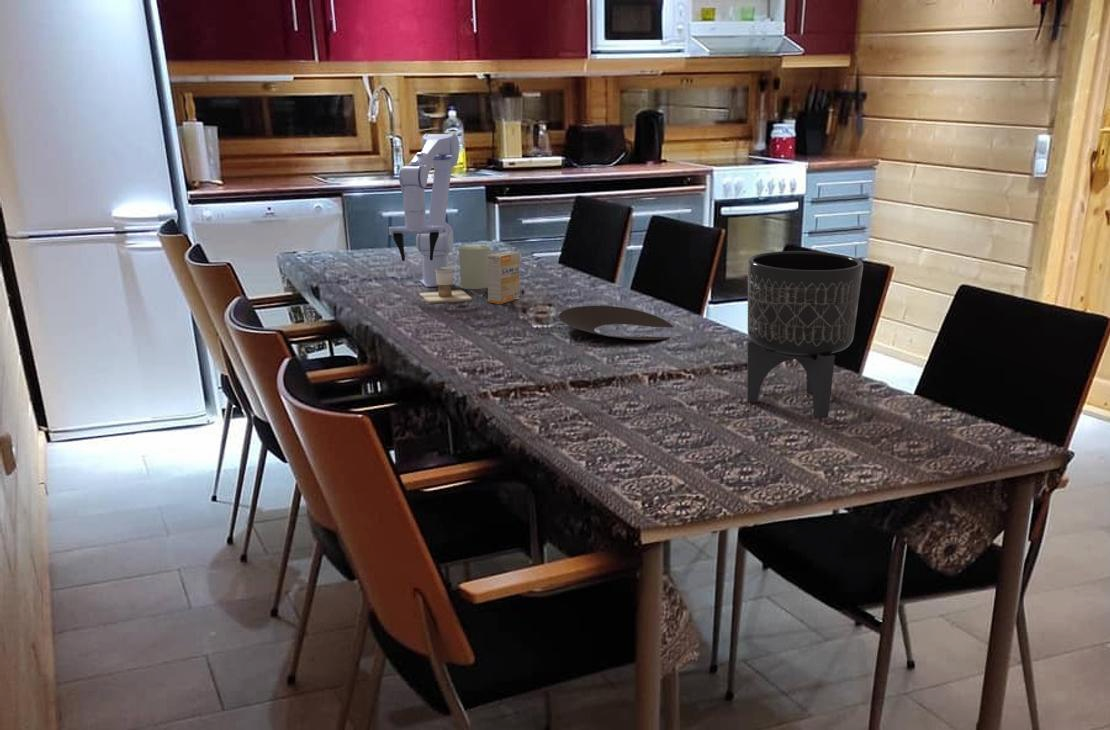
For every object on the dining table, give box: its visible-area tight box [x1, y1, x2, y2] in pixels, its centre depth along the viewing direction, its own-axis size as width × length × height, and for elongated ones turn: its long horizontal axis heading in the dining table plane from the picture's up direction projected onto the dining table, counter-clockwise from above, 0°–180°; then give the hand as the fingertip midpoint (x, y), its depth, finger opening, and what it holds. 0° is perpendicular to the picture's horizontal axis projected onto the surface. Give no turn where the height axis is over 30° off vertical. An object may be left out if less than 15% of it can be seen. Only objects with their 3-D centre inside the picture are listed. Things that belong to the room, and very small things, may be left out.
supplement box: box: [487, 250, 521, 305], centre depth 254 cm, size 8×5×13 cm, turn 143°
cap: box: [435, 266, 454, 286], centre depth 259 cm, size 5×5×4 cm
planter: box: [746, 250, 864, 419], centre depth 169 cm, size 20×20×26 cm
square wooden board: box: [418, 285, 473, 305], centre depth 260 cm, size 12×12×4 cm
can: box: [458, 243, 491, 290], centre depth 273 cm, size 9×9×12 cm
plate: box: [558, 305, 675, 341], centre depth 224 cm, size 28×28×4 cm
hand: (417, 260), depth 261 cm, fingers open, 7 cm apart
